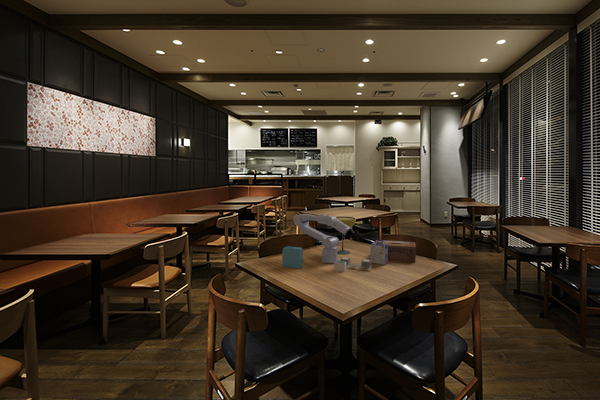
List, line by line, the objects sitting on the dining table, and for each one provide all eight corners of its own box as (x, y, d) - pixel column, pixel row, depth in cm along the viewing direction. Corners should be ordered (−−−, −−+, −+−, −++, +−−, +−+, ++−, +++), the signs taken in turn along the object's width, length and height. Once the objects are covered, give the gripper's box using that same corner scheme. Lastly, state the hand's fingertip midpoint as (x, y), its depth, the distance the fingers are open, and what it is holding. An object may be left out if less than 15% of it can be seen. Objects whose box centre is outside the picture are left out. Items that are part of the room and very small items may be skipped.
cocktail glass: (328, 255, 214) (328, 219, 212) (331, 248, 232) (331, 216, 229) (354, 256, 210) (355, 220, 208) (355, 250, 228) (356, 216, 225)
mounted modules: (340, 264, 187) (340, 259, 187) (342, 261, 192) (342, 256, 191) (369, 267, 180) (369, 262, 180) (371, 264, 185) (371, 259, 185)
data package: (303, 266, 188) (303, 247, 187) (300, 268, 184) (300, 249, 182) (285, 264, 192) (285, 246, 191) (282, 266, 188) (282, 247, 187)
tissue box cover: (414, 256, 210) (414, 242, 209) (415, 262, 196) (415, 246, 196) (375, 253, 218) (376, 239, 217) (374, 259, 204) (374, 244, 203)
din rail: (339, 265, 187) (339, 264, 187) (341, 262, 192) (341, 261, 192) (370, 268, 180) (370, 267, 180) (372, 266, 185) (372, 265, 185)
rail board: (338, 267, 186) (338, 265, 186) (342, 263, 194) (342, 261, 194) (370, 271, 178) (370, 269, 178) (372, 266, 187) (372, 265, 187)
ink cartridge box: (388, 263, 194) (388, 240, 193) (385, 265, 189) (385, 242, 188) (373, 260, 200) (373, 238, 198) (369, 262, 195) (370, 240, 194)
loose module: (334, 270, 180) (334, 262, 179) (336, 268, 183) (336, 260, 183) (344, 271, 178) (344, 263, 177) (346, 269, 181) (346, 261, 181)
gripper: (341, 220, 185) (359, 232, 177) (350, 224, 197) (367, 234, 189) (335, 230, 185) (353, 242, 178) (344, 233, 197) (361, 244, 190)
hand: (360, 239), depth 184 cm, fingers open, 7 cm apart
